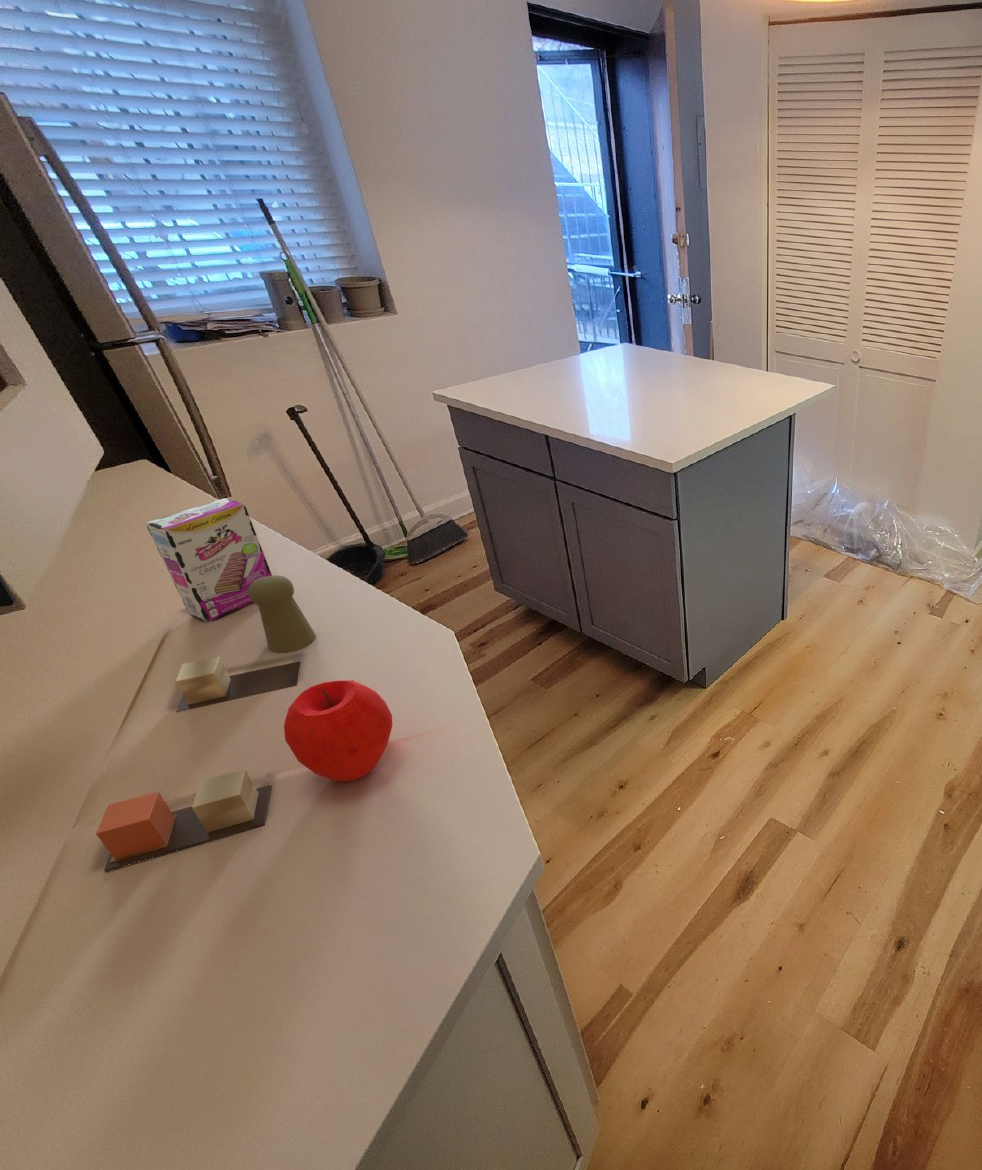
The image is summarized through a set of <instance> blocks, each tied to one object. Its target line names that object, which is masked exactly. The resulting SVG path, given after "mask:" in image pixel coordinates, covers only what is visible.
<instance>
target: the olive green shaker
mask: <svg viewBox="0 0 982 1170" xmlns="http://www.w3.org/2000/svg"><path fill="white" fill-rule="evenodd" d="M294 593H295V587H294V584H293V582H292V581H291V580H290V579H289V578H287V577H285V576H284V575H278V574H277V575H273V574H272V576H267V577H263V578H260V579H258V580H256V581H254V582H253V583H252V584H250V586H249V589H248V594H249V597H250V599H251V600H252V604H255V605H256V606H258V609H259V610H258V611H259V614H260V618H261V623H262V626H263V631H264V635H265V639H266V644H267V647H268V650H269V651H270V652H272V653H274V654H288V653H294V652H297V651H300V650H303V649H305V648H307V647H309V646H310V645H311V644H313V642H314V641H315V640H316V638H317V634H316V633H315V631H314V629H313V627H312V626H311V623H309V621H308V619H307V618H306V615H304V613H303V612H302V610H301V608H300V606H299V605H298V603H297V601H296V600H295V598H294Z"/></svg>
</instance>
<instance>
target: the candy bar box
mask: <svg viewBox="0 0 982 1170" xmlns="http://www.w3.org/2000/svg"><path fill="white" fill-rule="evenodd" d="M245 504H246V503H243V502H239V501H236V500H232V499H229V498H227V497H224V498H221V499H217V500H214V501H211V502H208V503H205V504H201V505H198V506H195V507H192V508H189V509H186V510H182V511H178V512H176V513H172V514H169V515H167V516H163V517H160V518H156V519H153V520H150V521H147V522H145V523H144V524H145V526H146V528H147V531H148V533H149V534H150V536H151V538H152V540H153V542H154V545H155V546H156V549H157V551H158V553H159V555H160V557H161V559H162V562H163V563H164V565H165V567H166V569H167V572H168V573H169V576H170V578H171V580H172V582H173V585H174V586H175V588H176V590H177V592H178V595H179V597H180V599H181V600H182V603H183V605H184V607H185V609H186V611H187V613H188V615H189V616H190V617H193V618H194V619H195V618H196V619H198V620H200V621H202V622H206V623H211V622H213V621H216V620H217V619H220V618H221V617H224V616H226V615H228V614H231V613H233V612H235V611H238V610H239V609H242V608H244V607H245V606H248V605H250V604H253V602H252V600H251V599H250V597H249V594H248V589H249V586H250V584H252V583H253V582H254V581H256V580H258V579H260V578H263V577H267V576H273V574H272V571H271V569H270V566H269V564H268V561H267V559H266V555H265V552H264V551H263V549H262V546H261V542H260V540H259V538H258V535H257V533H256V530H255V527H254V525H253V522H252V520H251V517H250V515H249V511H248V508H247V507H246V505H245Z"/></svg>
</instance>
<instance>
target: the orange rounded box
mask: <svg viewBox="0 0 982 1170" xmlns="http://www.w3.org/2000/svg"><path fill="white" fill-rule="evenodd" d="M174 817H175V816H174V815H173V813H172V810H171V809H170V807H169V805H168V803H167V802H166V801H165V800H164V798H163V796H162V794H161V793H160V792H159V791H155V792H151V793H147V794H143V795H140V796H137V797H136V796H135V797H131V798H127V799H124V800H121V801H116V802H113V803H109V804H108V805H107V807H106V809H105V812H104V813H103V817H102V818H101V821H100V823H99V826H98V828H97V830H96V832H95V835H96V837H97V838H98V839H99V841H100V842H101V843H102V844H103V845H104V847H105V848H106V850H108V852H109V853H110V854H111V855H112V856H113V857H114V858H115V859H118V858H122V857H125V856H129V855H132V854H135V853H139V852H142V851H146V850H149V849H153V848H156V847H159V846H163V845H165V844H166V842H167V839H168V836H169V832H170V829H171V826H172V823H173V820H174Z"/></svg>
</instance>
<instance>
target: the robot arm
mask: <svg viewBox="0 0 982 1170" xmlns="http://www.w3.org/2000/svg"><path fill="white" fill-rule="evenodd" d="M15 602H17V601H16V598H15V596H14V595H13V593H12V591H11V590H10V588H9V587H8V585H7V584H6V582H5V580H4V578H3V577H2V575H1V574H0V608H3V607H9V606H13V604H15Z"/></svg>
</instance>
